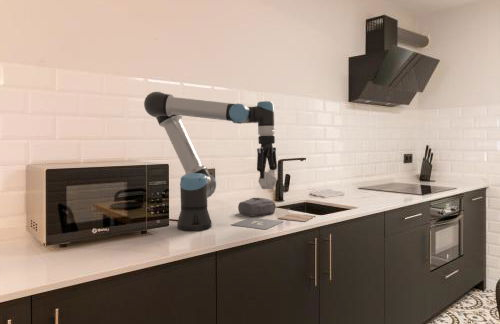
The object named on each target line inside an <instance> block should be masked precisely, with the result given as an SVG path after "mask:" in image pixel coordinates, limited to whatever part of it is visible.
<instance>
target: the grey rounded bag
mask: <svg viewBox="0 0 500 324" xmlns="http://www.w3.org/2000/svg"><path fill="white" fill-rule="evenodd" d="M276 207H277V206H276V203H275V201H273V200H272V199H269V198H264V197H252V198H251V197H250V198H249V199H245V200H243V201H239V203H238V206H237V208H238V212H239V214H240V215H242V216H246V217H259V216H265V215H270V214H272V213H275V211H276Z"/></svg>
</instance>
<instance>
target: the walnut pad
mask: <svg viewBox="0 0 500 324" xmlns="http://www.w3.org/2000/svg"><path fill="white" fill-rule="evenodd" d="M313 217H314V218H315V217H316V215H310V214H300V213H299V214H298V213H293V212H292V213H287V214H285V215H282V216H280V217H278V218H277V219H278V220H282V221H293V222H294V221H295V222H300V223H301V222H303V223H306V222H308V221H310V220H312V219H313ZM311 218H312V219H311ZM309 219H310V220H309Z"/></svg>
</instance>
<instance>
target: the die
mask: <svg viewBox="0 0 500 324" xmlns="http://www.w3.org/2000/svg"><path fill="white" fill-rule="evenodd" d="M276 177H277V176H276V174H275V175H274V173H273V172H269V171H266V186H260V187H261V189H262V190H274V188H275V185H276V183H277V178H276ZM258 183H259V185H260V176H259V177H258Z"/></svg>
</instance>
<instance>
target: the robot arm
mask: <svg viewBox="0 0 500 324" xmlns="http://www.w3.org/2000/svg"><path fill="white" fill-rule="evenodd" d="M143 105H144V110H145V112H146V113H147V114H148V115H149V116H151V117H154V118H156V121H157V123H158V124H159V126H160V127H163V128H164V130H165V131H166V135H167V137H168V138H169V141H170V143H171V145H172V147H173V149H174V151H175V153H176V155H177V158H178V160H179V162H180V163H181V166H182V169H183V170H184V172H185V174H184V175H182V176H181V177H180V182H179V187H180V188H179V191H180V212H179V216H178V219H177V223H176V228H177V229H178V230H180V231H186V232H187V231H188V232H193V231H194V232H195V231H196V232H198V231H204V230H207V229H208V230H209V229H211V227H212V224H213V223H212V219H211V217H210V213H209V210H208V198H209V197H211V196H212V195H213V194H214V193H215V191H216V189H217V181H216V179H215V177H214V176H213V175H212V174H211V173H210V172H209V170H208V167H207V166H205V165H203V163H202V162H201V160H200V158H199V156H198V153H197V152H196V150H195V147H194V145H193V143H192V141H191V139H190V136H189V134H188V132H187V131H186V130H187V129H185V126H184V124H183V121H182V118H183V117H191V118H192V117H193V118H202V119H210V120H219V121H228V122H232V123H233V124H239V125H240V124H253V123H254V124H257V134H258V136H257V137H258V142H257V143H258V145H260V147H258V148H257V149H256V152H257V157H256V158H257V159H256V170H257V172H259V177H260V184H259V185H260V187H261V186H266V172H267V171H266V166H267V163H268V167H269V170H268V172H273V173H274V175H275V176H276V174H275V173H276V172H275V171H276V170H277V168H278V164H277V153H276V152H277V147H274V146H273V145H274V144H276V143H275V142H276V140H275V139H276V138H275V137H276V136H275V131H276V128H275V108H274V107H275V106H274V103H273V102H272V101H271V100H270V101H268V100H265V101H258V102H257V105H255V106H246V105H244V104H243V103H230V102H220V101H211V100H201V99H194V98H183V97H176V96H175V97H174V95H173V94H170V93H169V94H168V93H164V92H161V91H152V92H150V93H149V94H147V95H146V97H145V99H144V101H143Z"/></svg>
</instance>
